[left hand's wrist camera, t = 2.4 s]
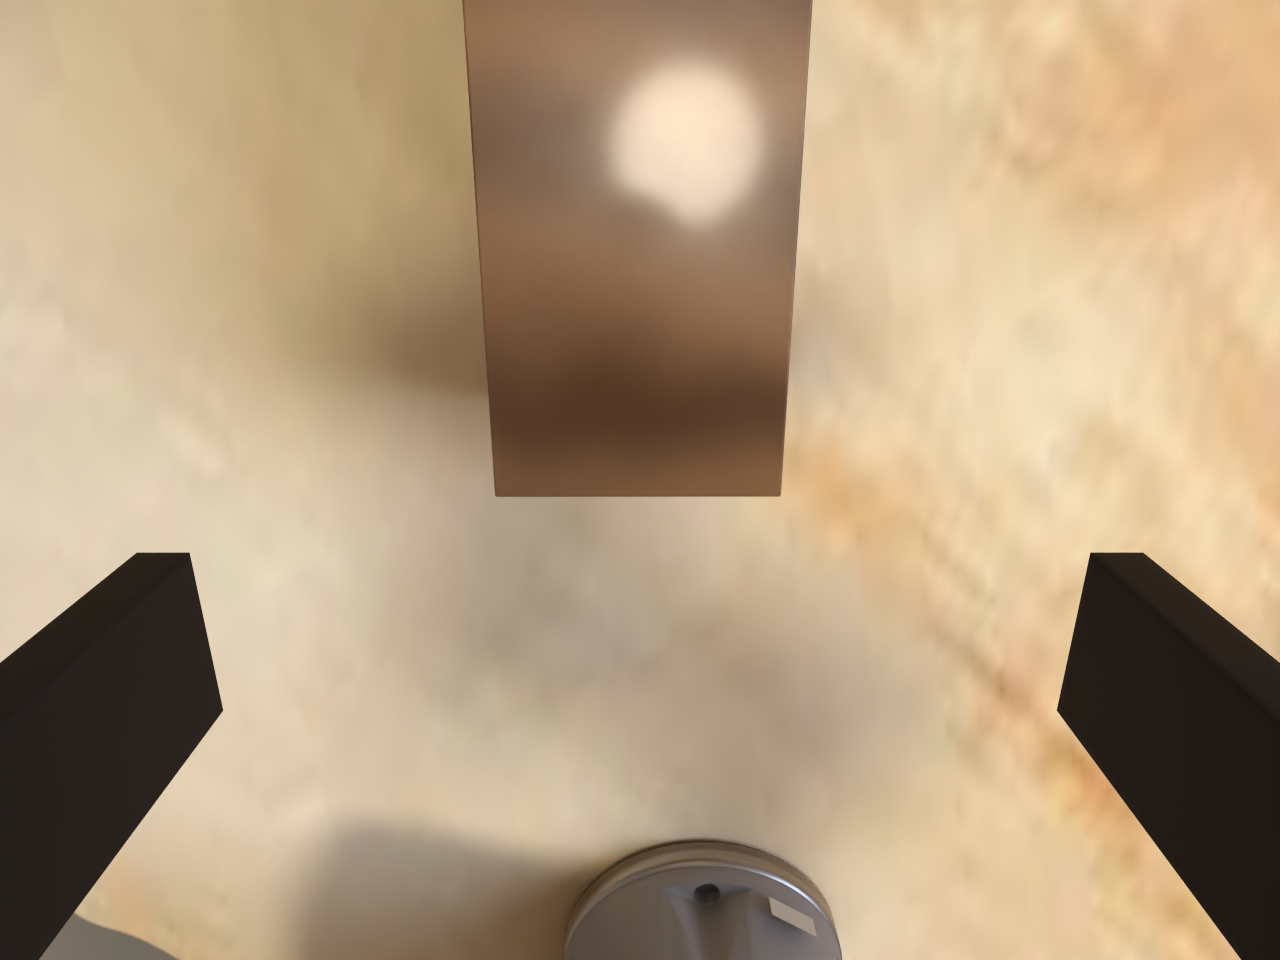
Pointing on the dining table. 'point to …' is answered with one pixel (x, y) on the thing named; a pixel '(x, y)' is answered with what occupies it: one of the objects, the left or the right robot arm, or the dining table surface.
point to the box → (637, 239)
